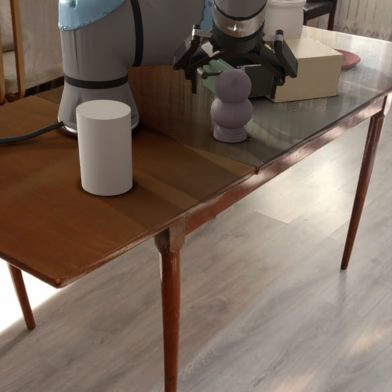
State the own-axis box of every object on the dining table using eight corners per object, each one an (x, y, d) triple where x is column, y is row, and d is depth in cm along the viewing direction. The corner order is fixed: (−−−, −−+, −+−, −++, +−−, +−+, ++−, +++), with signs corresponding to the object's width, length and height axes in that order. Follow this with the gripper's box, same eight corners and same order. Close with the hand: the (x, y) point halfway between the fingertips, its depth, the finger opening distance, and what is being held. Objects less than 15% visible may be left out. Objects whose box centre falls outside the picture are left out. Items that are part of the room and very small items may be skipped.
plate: (290, 63, 155) (291, 54, 154) (321, 52, 164) (323, 44, 162) (339, 77, 148) (340, 69, 147) (369, 66, 157) (371, 57, 155)
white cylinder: (133, 173, 105) (131, 100, 97) (131, 196, 99) (129, 120, 91) (84, 172, 104) (78, 99, 96) (79, 194, 98) (72, 118, 90)
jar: (296, 61, 157) (305, -7, 147) (297, 74, 149) (307, 3, 140) (254, 57, 158) (260, -10, 148) (253, 70, 150) (259, 0, 140)
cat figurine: (214, 124, 123) (218, 60, 115) (254, 130, 121) (260, 65, 114) (204, 141, 116) (207, 73, 109) (245, 147, 115) (252, 79, 107)
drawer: (204, 105, 128) (206, 70, 124) (181, 85, 137) (182, 52, 132) (287, 96, 135) (291, 62, 130) (260, 77, 143) (263, 46, 139)
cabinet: (274, 102, 134) (280, 60, 128) (245, 82, 143) (249, 41, 137) (336, 95, 139) (343, 54, 133) (304, 76, 148) (310, 37, 142)
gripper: (148, 34, 88) (160, 104, 110) (325, 46, 88) (303, 114, 109) (153, -17, 89) (164, 63, 110) (329, -5, 88) (306, 73, 109)
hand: (233, 89), depth 109 cm, fingers open, 13 cm apart
